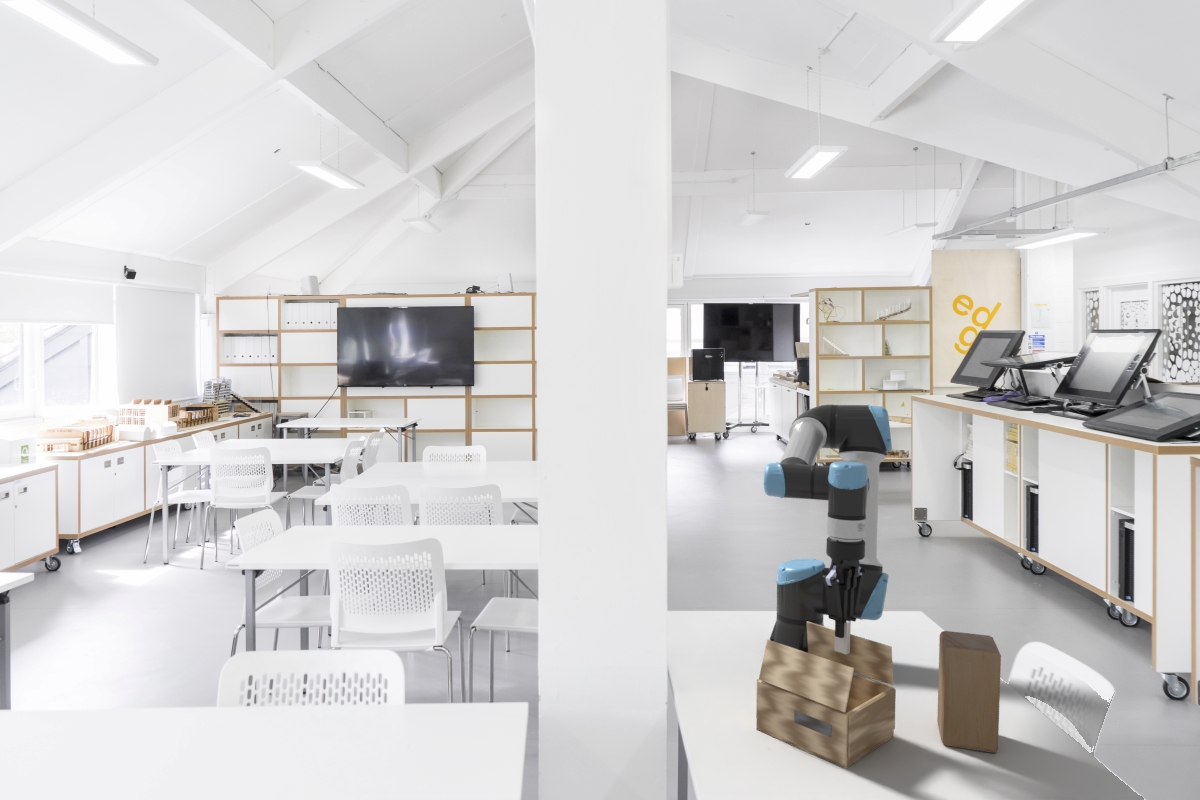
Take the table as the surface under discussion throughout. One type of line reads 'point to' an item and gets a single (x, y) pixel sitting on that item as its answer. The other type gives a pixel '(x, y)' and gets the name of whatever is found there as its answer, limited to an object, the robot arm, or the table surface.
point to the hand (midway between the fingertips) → (842, 651)
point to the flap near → (807, 675)
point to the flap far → (852, 653)
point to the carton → (829, 720)
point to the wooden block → (969, 691)
